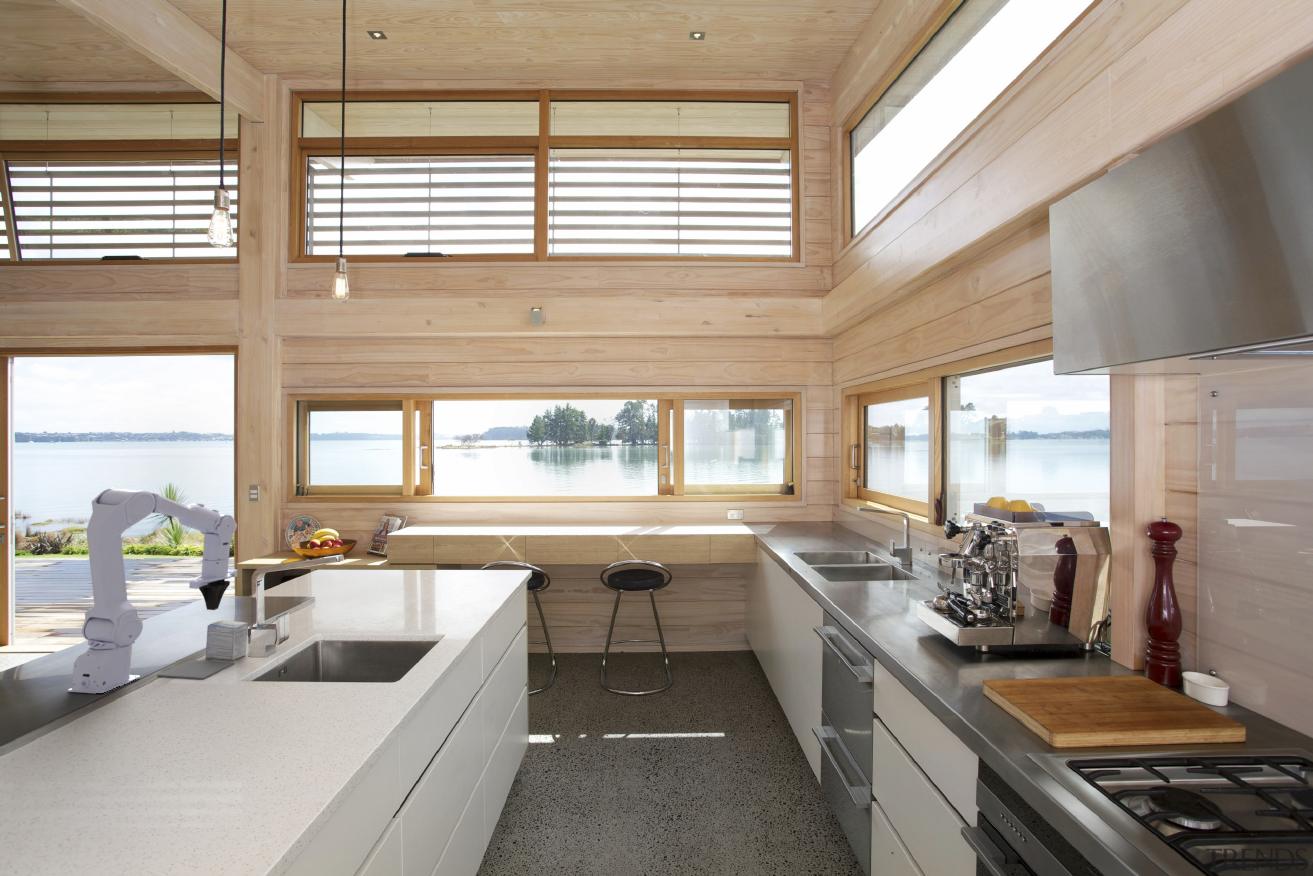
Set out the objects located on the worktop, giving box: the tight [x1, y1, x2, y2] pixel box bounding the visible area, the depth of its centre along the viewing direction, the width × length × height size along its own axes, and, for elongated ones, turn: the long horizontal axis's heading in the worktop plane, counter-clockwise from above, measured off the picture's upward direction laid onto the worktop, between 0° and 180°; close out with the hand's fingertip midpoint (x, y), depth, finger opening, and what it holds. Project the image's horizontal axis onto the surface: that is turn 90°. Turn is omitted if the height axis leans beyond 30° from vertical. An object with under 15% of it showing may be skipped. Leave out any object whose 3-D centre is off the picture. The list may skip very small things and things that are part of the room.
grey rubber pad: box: [156, 659, 235, 680], centre depth 144 cm, size 10×11×1 cm
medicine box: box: [205, 619, 248, 661], centre depth 154 cm, size 8×4×9 cm, turn 84°
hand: (212, 609), depth 159 cm, fingers closed
